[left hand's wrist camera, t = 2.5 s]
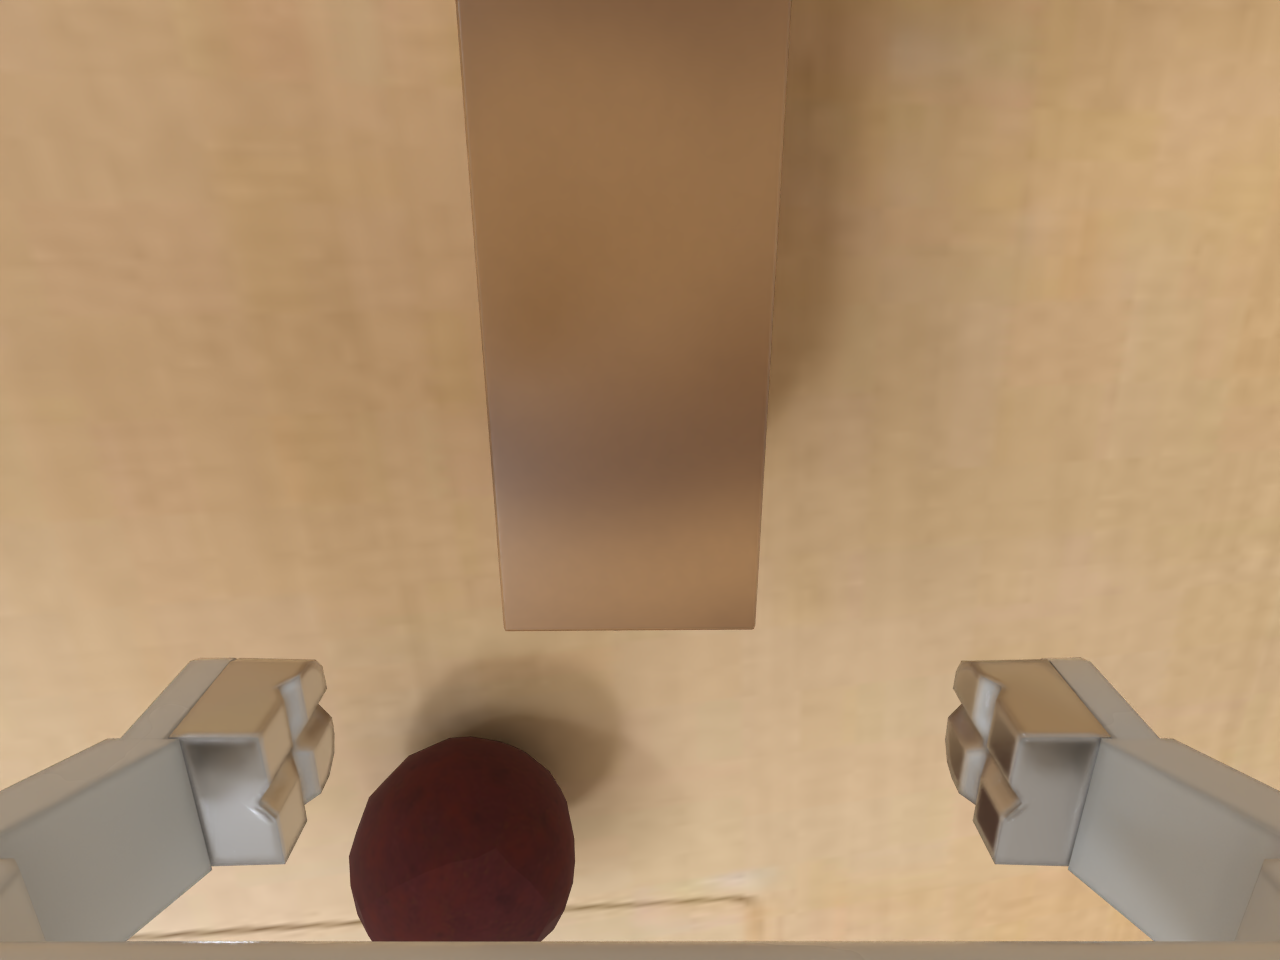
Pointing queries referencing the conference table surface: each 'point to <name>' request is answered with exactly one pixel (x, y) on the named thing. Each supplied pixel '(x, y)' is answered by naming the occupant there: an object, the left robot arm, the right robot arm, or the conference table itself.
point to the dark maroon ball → (464, 848)
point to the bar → (626, 299)
